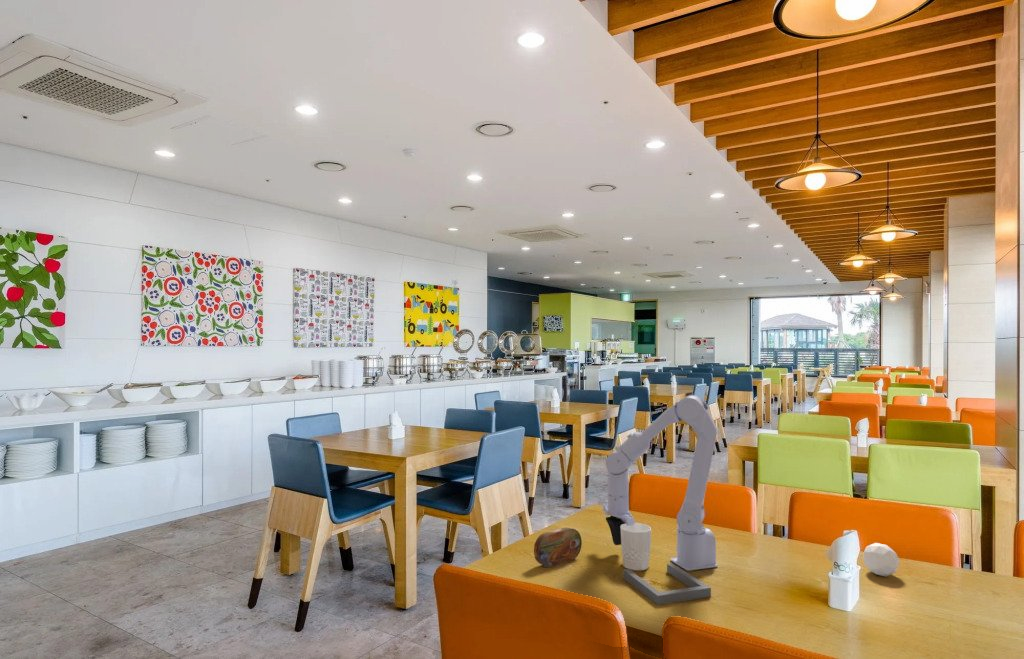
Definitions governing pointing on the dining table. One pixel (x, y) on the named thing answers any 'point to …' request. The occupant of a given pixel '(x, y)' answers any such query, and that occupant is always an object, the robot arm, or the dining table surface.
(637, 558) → the white cup
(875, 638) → the dining table surface
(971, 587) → the dining table surface
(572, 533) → the tin
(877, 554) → the geometric ball
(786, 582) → the dining table surface
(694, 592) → the gray u-shaped frame
